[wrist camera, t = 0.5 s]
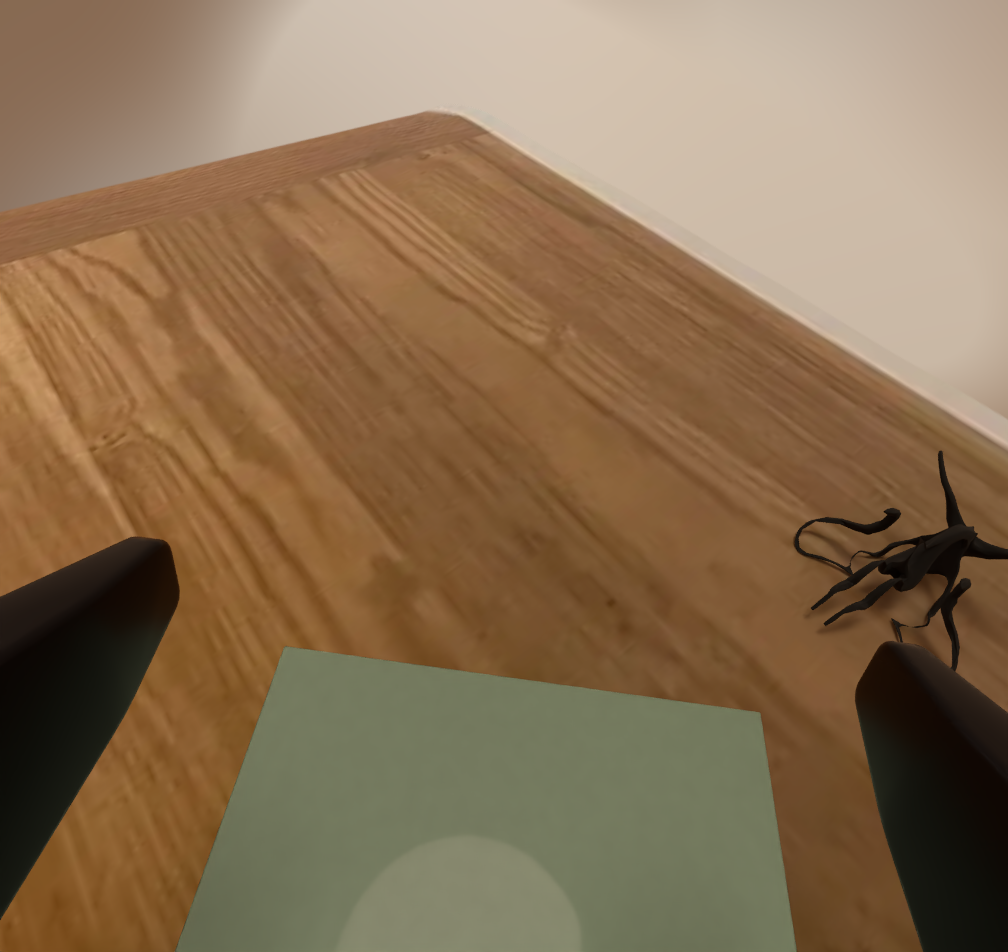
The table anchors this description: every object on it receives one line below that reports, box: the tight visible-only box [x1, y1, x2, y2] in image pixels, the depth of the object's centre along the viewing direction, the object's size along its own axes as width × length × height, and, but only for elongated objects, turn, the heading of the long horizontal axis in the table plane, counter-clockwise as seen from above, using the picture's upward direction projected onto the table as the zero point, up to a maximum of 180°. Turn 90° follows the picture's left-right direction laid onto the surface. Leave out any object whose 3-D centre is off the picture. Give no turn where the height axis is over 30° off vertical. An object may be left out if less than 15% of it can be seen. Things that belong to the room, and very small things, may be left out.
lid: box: [175, 646, 797, 952], centre depth 13 cm, size 12×13×5 cm
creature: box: [795, 451, 1008, 671], centre depth 26 cm, size 8×5×8 cm
